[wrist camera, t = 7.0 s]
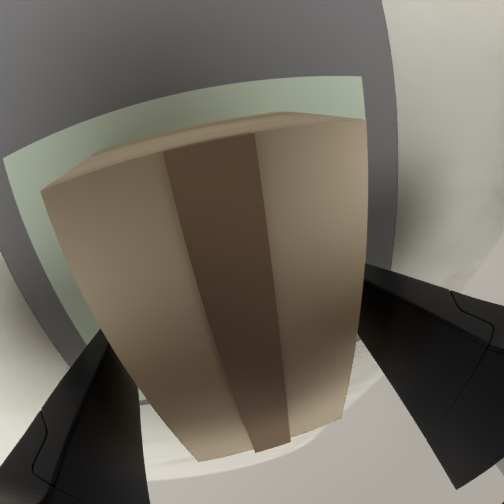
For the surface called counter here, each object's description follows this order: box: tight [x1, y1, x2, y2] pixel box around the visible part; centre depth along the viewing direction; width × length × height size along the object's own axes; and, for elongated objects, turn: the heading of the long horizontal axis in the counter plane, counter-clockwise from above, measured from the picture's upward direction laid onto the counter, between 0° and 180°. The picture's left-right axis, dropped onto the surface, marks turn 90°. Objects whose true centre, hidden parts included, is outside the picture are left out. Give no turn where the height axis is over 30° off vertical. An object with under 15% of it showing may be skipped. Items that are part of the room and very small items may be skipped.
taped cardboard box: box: [40, 111, 368, 462], centre depth 8 cm, size 9×5×4 cm, turn 8°
